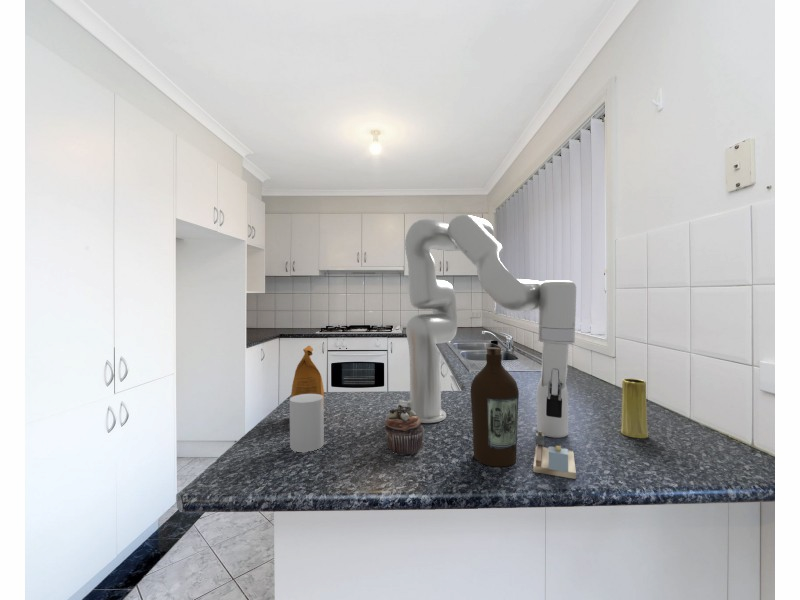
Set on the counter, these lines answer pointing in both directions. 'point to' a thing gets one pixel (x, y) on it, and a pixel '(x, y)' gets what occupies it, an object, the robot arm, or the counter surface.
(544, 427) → the milk bottle
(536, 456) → the board
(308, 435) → the cup
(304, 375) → the coffee package
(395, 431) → the cupcake
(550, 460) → the blue block with knob
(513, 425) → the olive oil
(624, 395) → the vase
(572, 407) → the counter surface
